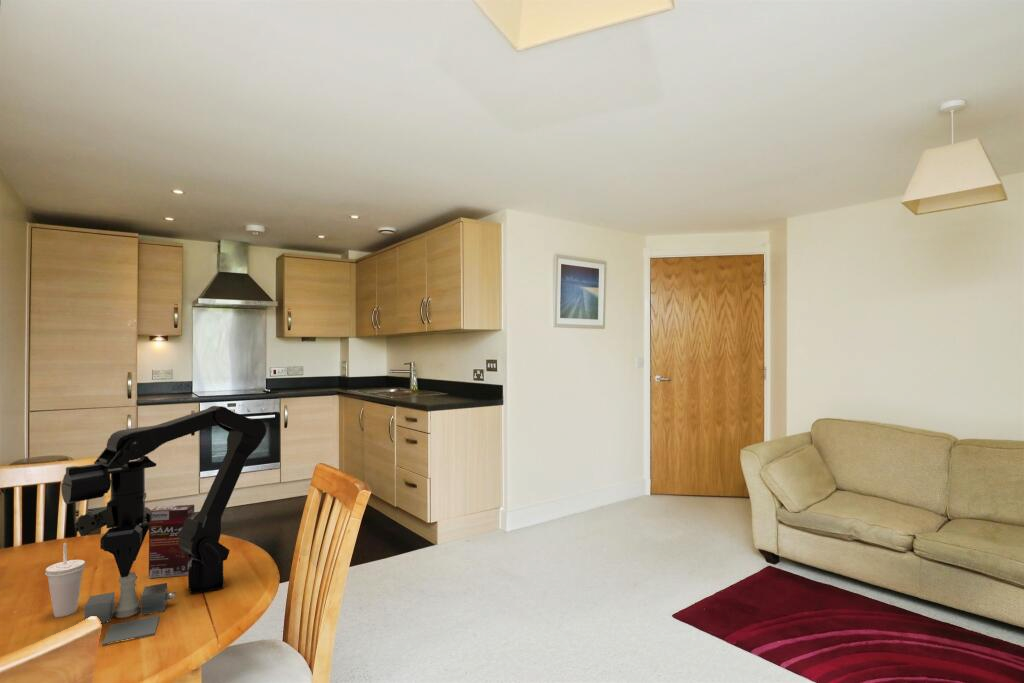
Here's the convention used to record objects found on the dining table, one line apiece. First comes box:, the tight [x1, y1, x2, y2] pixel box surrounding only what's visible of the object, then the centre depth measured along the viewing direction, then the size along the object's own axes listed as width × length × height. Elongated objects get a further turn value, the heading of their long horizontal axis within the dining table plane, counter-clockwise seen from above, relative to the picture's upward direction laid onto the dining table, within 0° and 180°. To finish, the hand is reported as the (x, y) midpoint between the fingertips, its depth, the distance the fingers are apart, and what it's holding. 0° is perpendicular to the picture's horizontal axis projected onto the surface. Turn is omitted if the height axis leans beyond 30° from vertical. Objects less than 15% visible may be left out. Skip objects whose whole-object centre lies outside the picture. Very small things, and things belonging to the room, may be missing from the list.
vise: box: [84, 582, 176, 624], centre depth 112 cm, size 15×5×4 cm, turn 117°
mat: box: [101, 614, 161, 647], centre depth 104 cm, size 8×8×1 cm
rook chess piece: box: [114, 571, 141, 619], centre depth 111 cm, size 4×4×8 cm
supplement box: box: [148, 504, 195, 579], centre depth 132 cm, size 9×5×16 cm, turn 101°
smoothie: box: [44, 542, 86, 618], centre depth 112 cm, size 6×6×14 cm
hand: (128, 568), depth 112 cm, fingers open, 9 cm apart
